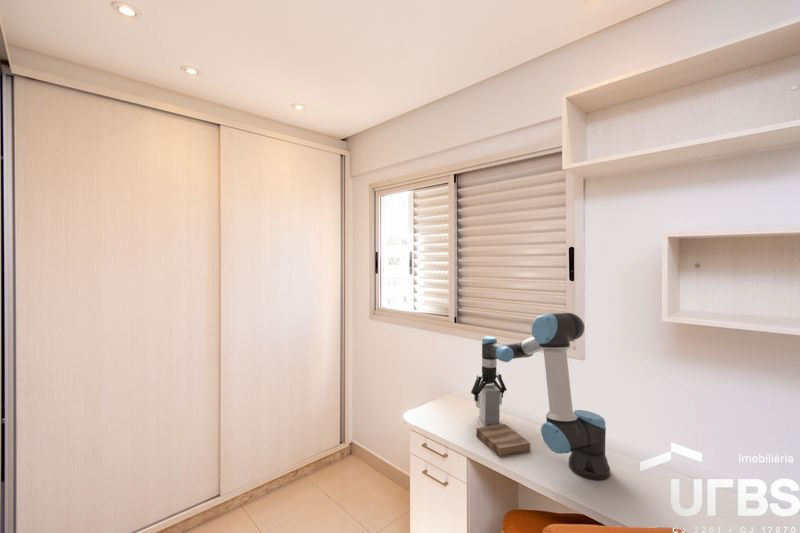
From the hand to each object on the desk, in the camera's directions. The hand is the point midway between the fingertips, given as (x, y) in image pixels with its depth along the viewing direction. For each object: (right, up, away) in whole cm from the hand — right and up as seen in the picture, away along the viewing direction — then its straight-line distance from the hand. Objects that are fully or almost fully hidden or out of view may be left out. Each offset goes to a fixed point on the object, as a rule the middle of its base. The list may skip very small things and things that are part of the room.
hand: (488, 405), depth 189 cm
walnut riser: (+1, -9, -22) cm, 24 cm away
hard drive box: (0, -9, 0) cm, 9 cm away
